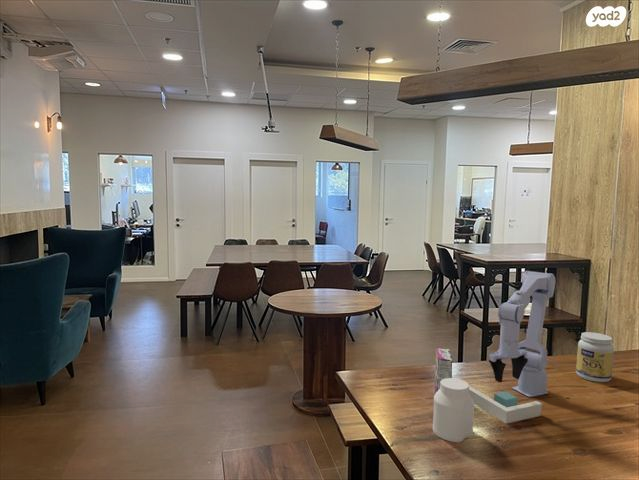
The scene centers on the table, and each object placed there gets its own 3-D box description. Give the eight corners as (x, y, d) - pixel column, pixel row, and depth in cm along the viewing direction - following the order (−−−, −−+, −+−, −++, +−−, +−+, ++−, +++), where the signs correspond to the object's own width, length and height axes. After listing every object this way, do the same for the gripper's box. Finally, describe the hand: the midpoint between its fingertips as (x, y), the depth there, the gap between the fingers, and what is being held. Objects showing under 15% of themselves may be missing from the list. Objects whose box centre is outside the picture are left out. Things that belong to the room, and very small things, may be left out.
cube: (504, 405, 148) (505, 391, 147) (516, 411, 143) (517, 397, 143) (493, 407, 146) (494, 393, 145) (505, 414, 141) (505, 399, 141)
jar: (454, 445, 122) (456, 394, 121) (427, 431, 130) (429, 382, 129) (477, 432, 129) (480, 384, 128) (450, 419, 137) (452, 373, 136)
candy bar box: (433, 391, 157) (435, 347, 156) (448, 393, 156) (450, 348, 155) (435, 405, 146) (437, 358, 145) (451, 407, 145) (453, 359, 144)
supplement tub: (575, 378, 171) (578, 337, 170) (576, 368, 181) (578, 329, 180) (612, 386, 165) (615, 342, 163) (611, 375, 175) (614, 334, 174)
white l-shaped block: (495, 390, 159) (495, 379, 159) (541, 415, 141) (541, 403, 140) (462, 396, 153) (462, 385, 153) (505, 423, 135) (506, 411, 135)
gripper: (516, 333, 149) (514, 372, 150) (483, 338, 143) (481, 377, 144) (533, 339, 142) (531, 379, 143) (499, 344, 137) (497, 386, 138)
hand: (507, 379), depth 143 cm, fingers open, 7 cm apart
